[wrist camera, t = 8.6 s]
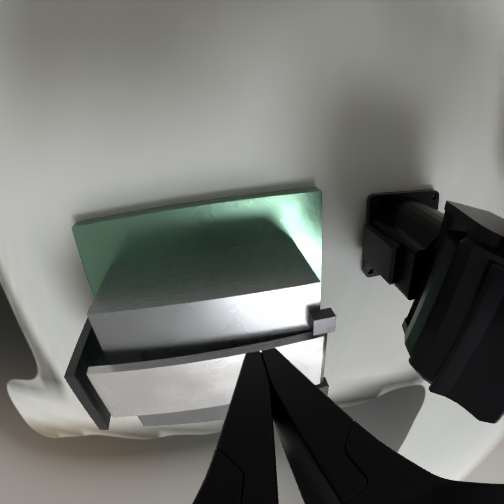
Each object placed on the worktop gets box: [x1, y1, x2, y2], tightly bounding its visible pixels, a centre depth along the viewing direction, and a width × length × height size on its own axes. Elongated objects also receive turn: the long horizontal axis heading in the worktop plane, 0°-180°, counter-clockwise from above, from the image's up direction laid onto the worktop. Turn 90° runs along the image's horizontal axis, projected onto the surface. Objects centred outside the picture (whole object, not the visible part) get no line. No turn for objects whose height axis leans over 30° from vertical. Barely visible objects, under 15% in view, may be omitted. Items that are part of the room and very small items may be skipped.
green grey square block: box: [64, 187, 336, 430], centre depth 19 cm, size 16×16×8 cm
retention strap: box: [87, 332, 327, 417], centre depth 17 cm, size 13×4×1 cm, turn 95°
